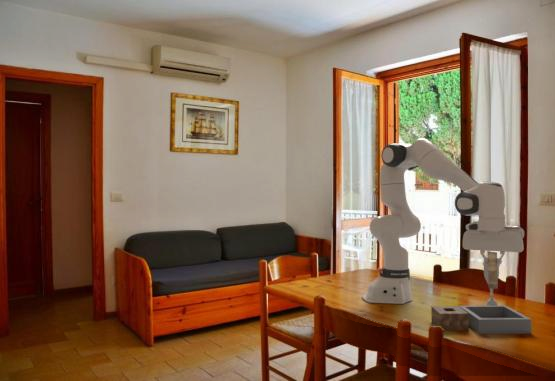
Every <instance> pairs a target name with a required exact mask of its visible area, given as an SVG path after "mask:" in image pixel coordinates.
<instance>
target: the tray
mask: <svg viewBox="0 0 555 381" xmlns="http://www.w3.org/2000/svg"><path fill="white" fill-rule="evenodd" d="M458 306H459V307H460V308H461V309H463V310H464V311H466V312H467V313H468V317H469V328H470V329H472V330H473V331H475V332H476V333H478V334H479V335H482V334H483V335H500V334H501V335H503V334H505V335H506V334H507V335H511V334H512V335H513V334H516V335H519V334H520V335H521V334H523V335H524V334H525V335H528V334H529V335H530V334H532V333H533V332H532V331H533V330H532V319H531V318H530V317H528V316H526V315H524V314H523V313H521V312H520V311H519V312H518V311H517V310H515V309H514V308H511V307H509V306H508V305H506V304H505V305H498V306H486V305H458Z"/></svg>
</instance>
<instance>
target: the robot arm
mask: <svg viewBox="0 0 555 381" xmlns="http://www.w3.org/2000/svg"><path fill="white" fill-rule="evenodd" d="M380 157H381V160H382V161H381V162H382V165H381V167H380V173H379V174H380V176H379V186H380V188H379V189H380V200H381V203H382V204H383V205H384V206H386V207H387V208H388V210H389V211H390V214H382V215H379V216H376V217H373V218H372V219H371V220H370V223H369V231H370V234H371V235H372V236H373V237H374V238H375V239H376V240H377V241H378V243H379V244H380V246H381V249H382V254H383V257H382V258H383V267H382V268H381V267H377V269H376V271H377V272H378V274H379V275H378V276H377V277H376V278H375V279H374V280H372V281H371V282H370V283H369V284H368V286H367V291H366V293H363V294H362V300H363V301H365V302H366V303H373V304H375V303H376V304H395V305H397V304H398V305H403V304H406V303H409V302H412V301H413V295H412V292H411V285H410V278H411V270H410V268H409V252H408V250H407V249H406V248H404V247H403V246H402V245H401V243H400V239H403V238H410V237H414V236H417V235H418V234H419V233H420V231H421V228H422V224H421V221H420V219H419V217H418V216H417V215H415V214H414V213H413V211H412V210H411V208H410V206H409V204H408V200H407V194H406V186H405V185H406V184H405V172H407V171H409V172H411V171H413V170H414V169H416V168H419V169H420V170H421V171H422V173H424V174H425V175H426V176H428V177H429V178H430V179H433V180H438V181H444V182H447V183H451V184H453V185H455V186H457V187H458V188H459V190H461V192H459V193H458V194H457V195H456V196H455V200H454V207H455V210H456V211H457V213H458V214H460V215H461V216H462V215H463V216H468V217H469V216H475V217H476V216H478V220H477V221H473V222H470V223H467V224H465V230H466V231H465V232H464V233H463V237H462V248H463V249H464V250H466V251H467V250H468V251H469V250H470V251H473V250H474V251H479V252H480V253H479V254H480V255H481V257H482V258H483V263H488V256H486V255H485V253H486V251H487V252H499V254H500V257H497V263H498V264H500V265H501V264H502V263H503V262H502V261H503V260H502V259H503V258H504V256H505V255H506V252H507V253H522V252H523V251H524V250H525V248H524V240H523V239H524V237H525V230H524V228H523V227H520V226H518V225H506V215H505V207H506V199H505V198H506V196H505V191H504V186H503V185H502V184H500V183H499V182H495V181H481V182H478V181H477V180H475V179H474V178H473V177H472V176H471V175H469V174H468V172H466V171H465V170H464V169H462V168H461V167H460V166H459V165H458V164H456V163H455V162H453V161H452V160H451V159H450V158H449V157H448V156H447V155H446V154H445V153H444V152H443V151H442V150H441V149H440V148H439V147H438V146H437V145H435V144H434V143H433V142H431V140H429V139H427V138H423V137H422V138H417V139H416V140H414V141H413V142H412V143H396V142H395V143H389V144H387V145H385V146H384V147H383V148H382V151H381V156H380Z"/></svg>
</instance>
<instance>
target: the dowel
mask: <svg viewBox="0 0 555 381" xmlns="http://www.w3.org/2000/svg"><path fill="white" fill-rule="evenodd" d="M487 258H488V283H489V284H488V283H487V284H488V288H489V289H490V288H493V290H494V289H498V287H499V286H498V285H499V284H498V283H499V282H498V280H497V258H498V251H487Z"/></svg>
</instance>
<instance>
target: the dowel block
mask: <svg viewBox="0 0 555 381" xmlns="http://www.w3.org/2000/svg"><path fill="white" fill-rule="evenodd" d="M459 306H460V305H431V309H430V311H431V323H432V324H433V325H434V324H435V325H437V326H441V327H442V328H443V329H444V330H443V331H469V328H470V326H469V317H468V313H467V312H466V311H464V310H463V309H461V308H460V307H459ZM435 325H434V326H435Z"/></svg>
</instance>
